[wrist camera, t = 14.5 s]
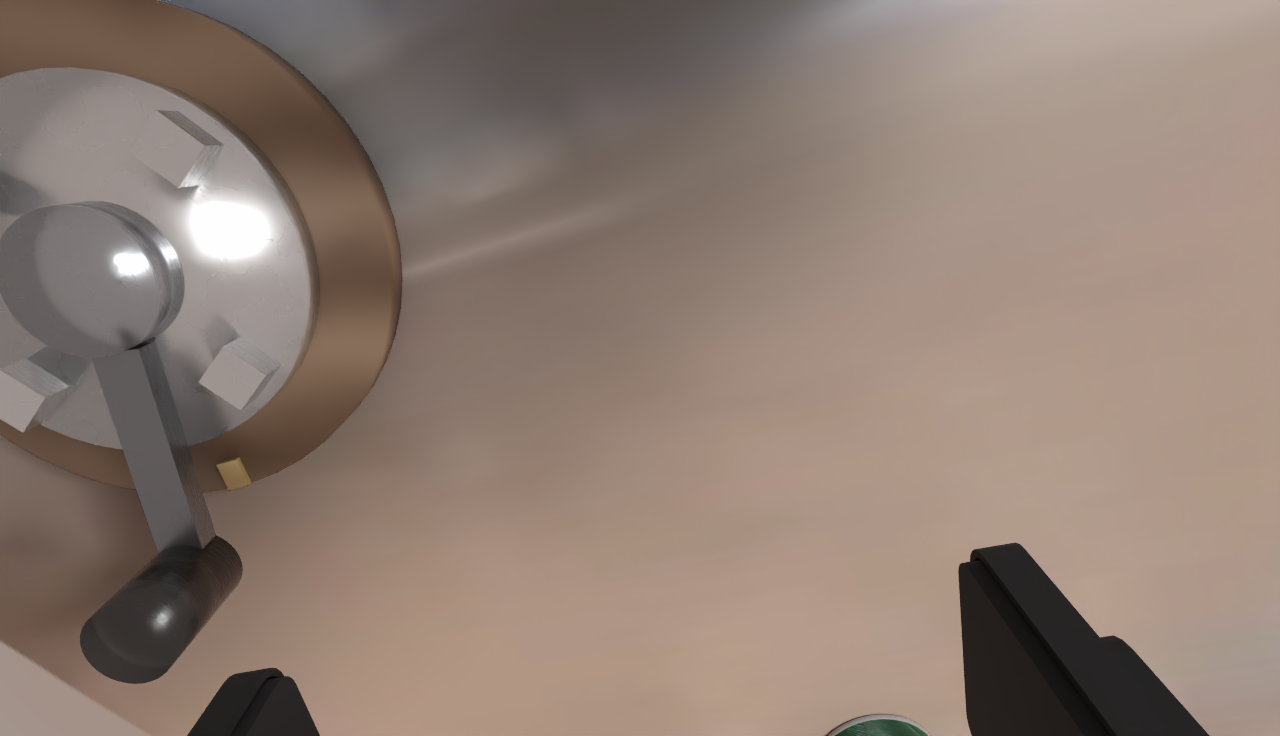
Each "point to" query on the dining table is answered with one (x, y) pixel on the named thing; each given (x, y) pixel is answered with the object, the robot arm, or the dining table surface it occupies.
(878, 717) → the canned tomato
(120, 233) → the crank handle
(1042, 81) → the dining table surface
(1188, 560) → the dining table surface
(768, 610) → the dining table surface
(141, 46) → the base
